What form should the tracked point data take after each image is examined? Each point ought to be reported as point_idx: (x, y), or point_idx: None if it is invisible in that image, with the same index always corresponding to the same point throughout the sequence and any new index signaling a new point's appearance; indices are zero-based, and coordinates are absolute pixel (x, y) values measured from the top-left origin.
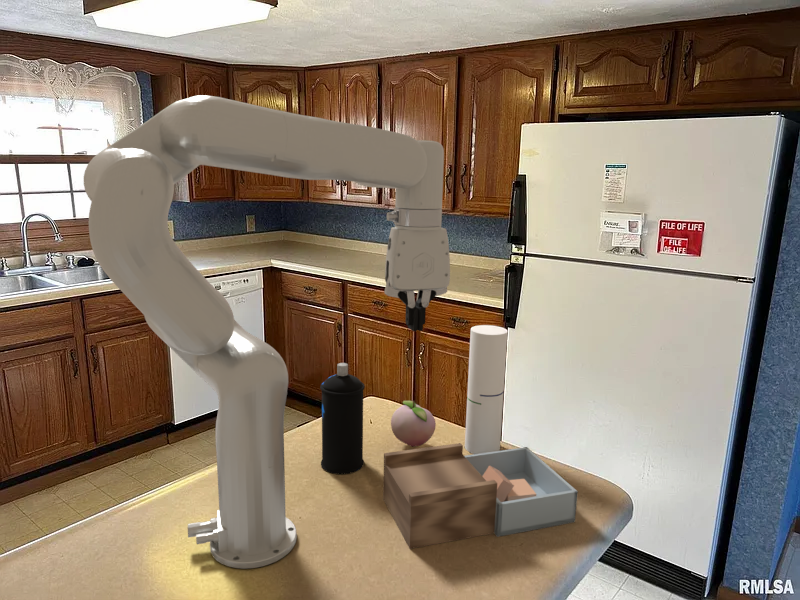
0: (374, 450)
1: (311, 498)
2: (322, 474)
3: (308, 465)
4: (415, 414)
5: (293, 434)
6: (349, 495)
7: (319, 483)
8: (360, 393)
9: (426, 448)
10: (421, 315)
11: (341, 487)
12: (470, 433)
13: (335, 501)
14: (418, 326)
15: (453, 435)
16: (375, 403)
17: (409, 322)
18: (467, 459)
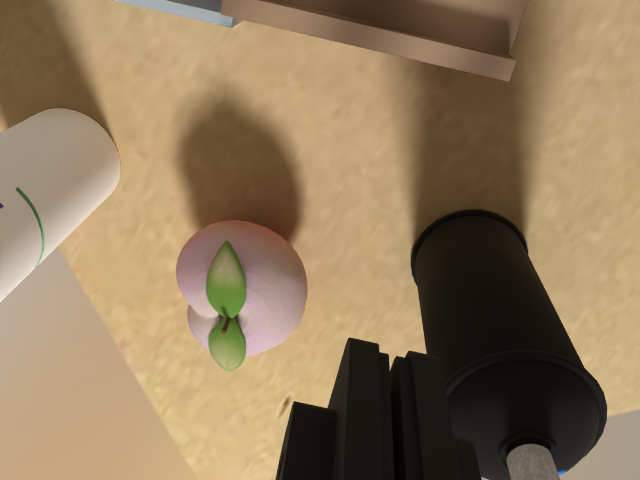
0: (356, 281)
1: (636, 150)
2: (542, 239)
3: None
4: (244, 282)
5: None
6: (544, 115)
7: (574, 205)
8: (477, 357)
9: (357, 38)
10: (366, 456)
11: (538, 161)
12: (94, 175)
13: (593, 106)
14: (387, 378)
15: (115, 252)
16: (226, 474)
17: (463, 451)
18: (203, 7)
